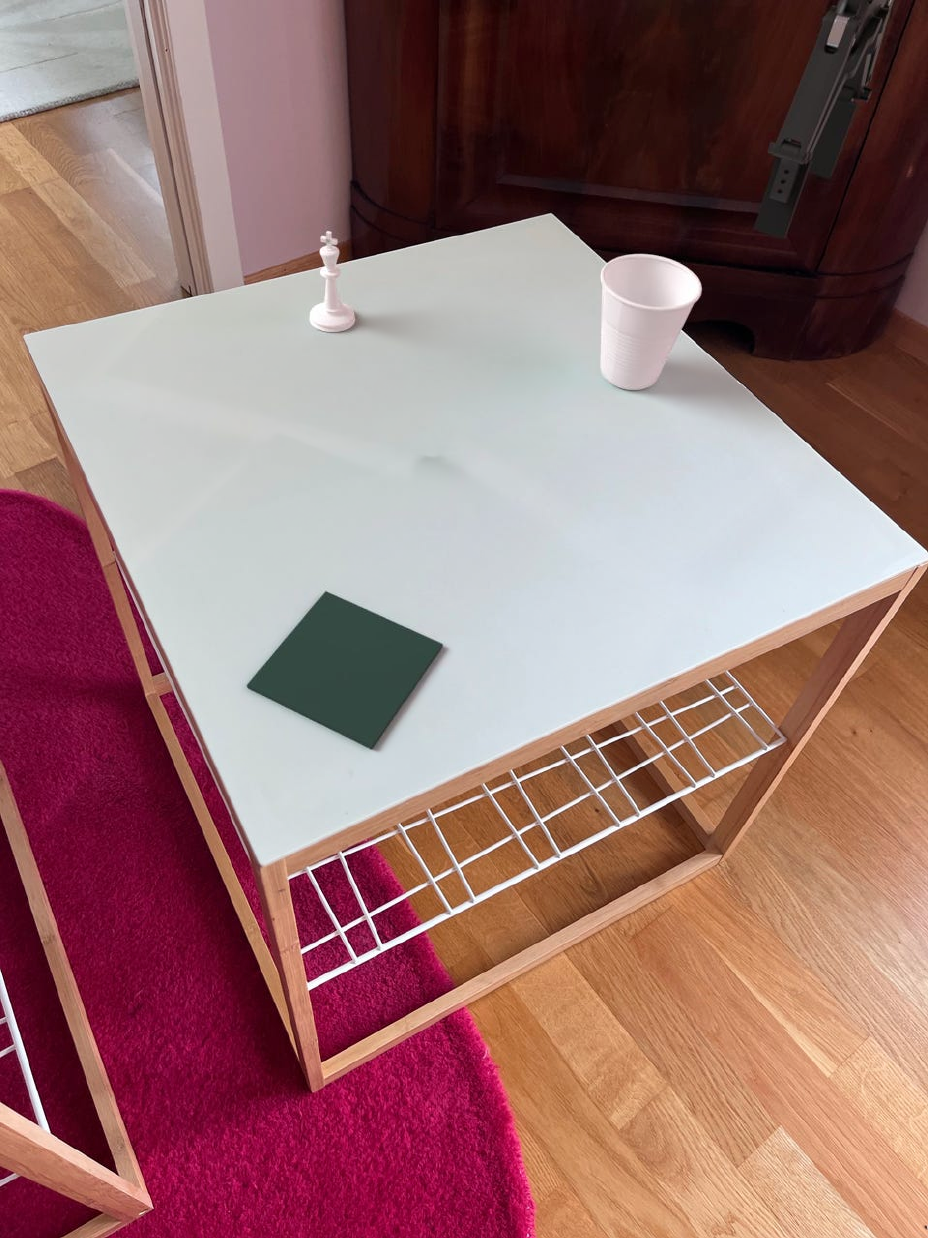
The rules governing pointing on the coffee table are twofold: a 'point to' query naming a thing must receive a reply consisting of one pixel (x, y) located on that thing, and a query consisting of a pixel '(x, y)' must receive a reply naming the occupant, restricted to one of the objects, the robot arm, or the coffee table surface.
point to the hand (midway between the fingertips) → (793, 202)
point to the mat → (346, 668)
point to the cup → (642, 316)
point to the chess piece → (331, 293)
